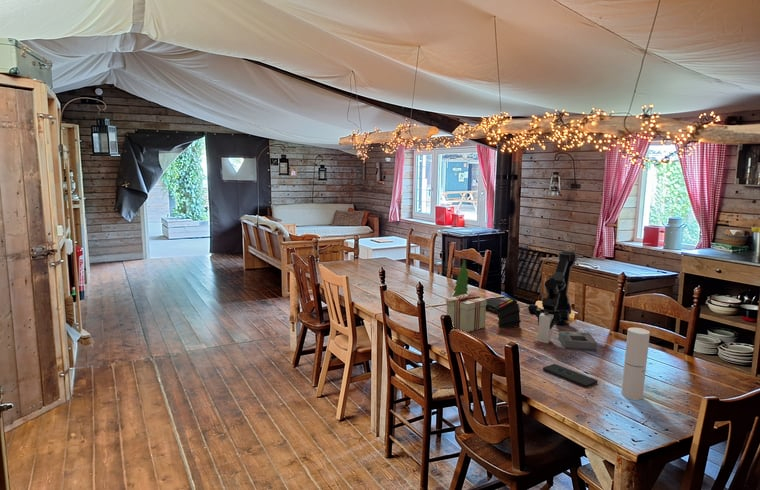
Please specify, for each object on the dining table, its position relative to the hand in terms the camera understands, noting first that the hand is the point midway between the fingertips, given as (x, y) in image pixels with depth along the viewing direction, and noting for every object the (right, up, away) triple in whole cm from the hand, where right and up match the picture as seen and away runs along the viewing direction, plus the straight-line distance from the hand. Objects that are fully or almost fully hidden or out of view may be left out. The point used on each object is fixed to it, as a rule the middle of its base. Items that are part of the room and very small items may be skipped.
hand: (544, 327), depth 241 cm
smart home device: (-3, -14, -38) cm, 41 cm away
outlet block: (+15, -8, -2) cm, 17 cm away
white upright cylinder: (+1, -7, +2) cm, 7 cm away
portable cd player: (-9, +1, +56) cm, 57 cm away
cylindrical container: (+15, -17, -54) cm, 59 cm away
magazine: (-12, -4, +22) cm, 26 cm away
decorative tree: (-32, +2, +52) cm, 61 cm away
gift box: (-36, -3, +22) cm, 42 cm away
